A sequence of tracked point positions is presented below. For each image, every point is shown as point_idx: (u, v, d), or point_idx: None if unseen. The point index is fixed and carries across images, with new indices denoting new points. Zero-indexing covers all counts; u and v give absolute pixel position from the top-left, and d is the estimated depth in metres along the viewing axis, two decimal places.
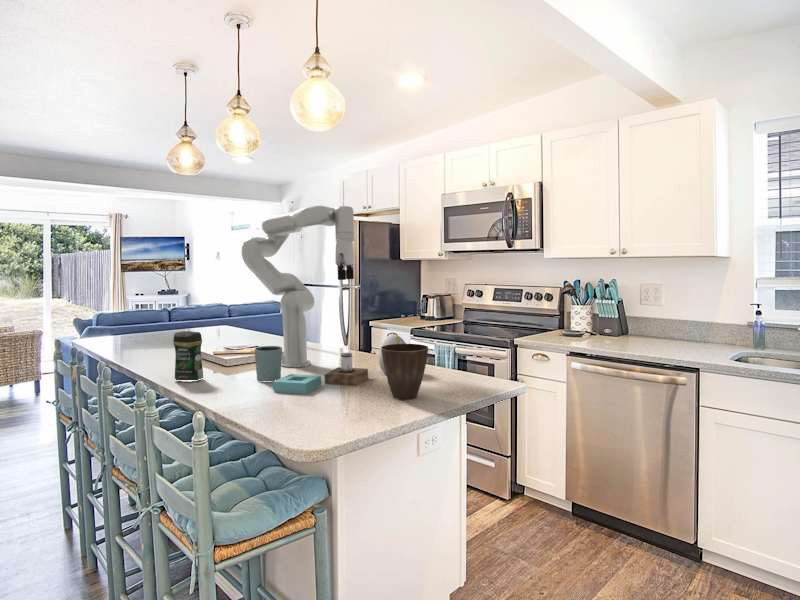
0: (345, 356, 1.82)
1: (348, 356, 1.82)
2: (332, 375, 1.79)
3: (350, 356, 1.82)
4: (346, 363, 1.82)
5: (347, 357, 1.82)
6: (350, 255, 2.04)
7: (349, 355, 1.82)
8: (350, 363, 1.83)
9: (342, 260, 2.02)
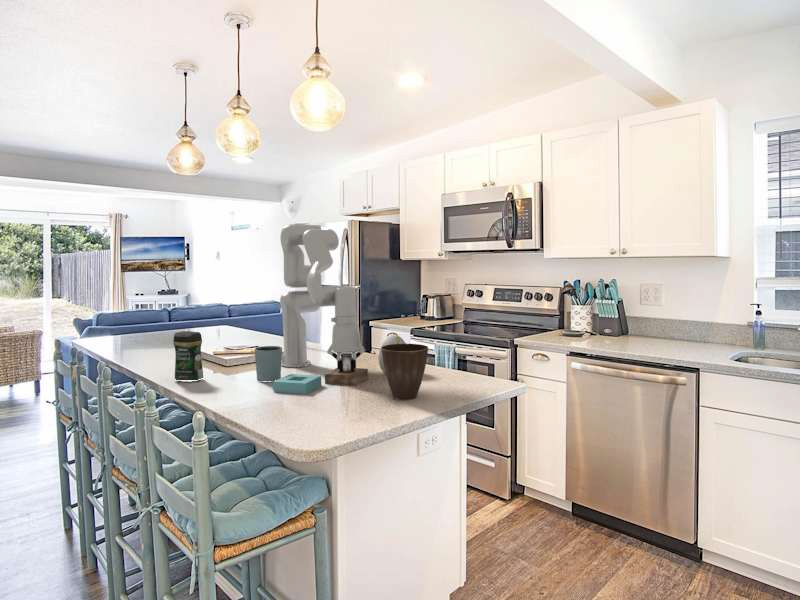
0: (345, 356, 1.82)
1: (348, 356, 1.82)
2: (332, 375, 1.79)
3: (350, 356, 1.82)
4: (346, 363, 1.82)
5: (347, 357, 1.82)
6: None
7: (349, 355, 1.82)
8: (350, 363, 1.83)
9: None
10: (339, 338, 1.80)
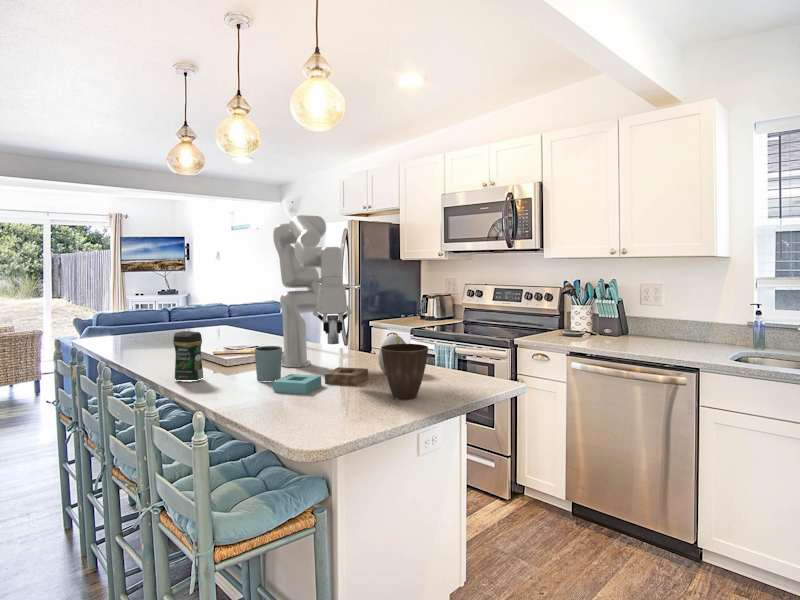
0: (331, 318, 1.78)
1: (334, 318, 1.78)
2: (332, 375, 1.79)
3: (336, 318, 1.79)
4: (332, 325, 1.78)
5: (333, 319, 1.78)
6: None
7: (335, 317, 1.78)
8: (336, 325, 1.79)
9: None
10: (325, 299, 1.76)
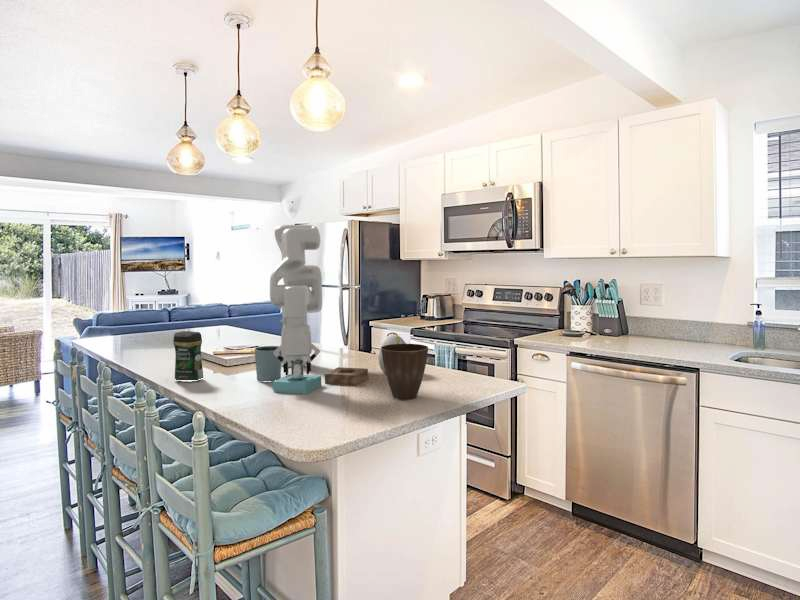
0: (295, 363, 1.71)
1: (298, 363, 1.71)
2: (332, 375, 1.79)
3: (301, 362, 1.72)
4: (296, 370, 1.71)
5: (297, 364, 1.71)
6: None
7: (300, 361, 1.71)
8: (301, 370, 1.72)
9: None
10: (288, 341, 1.69)
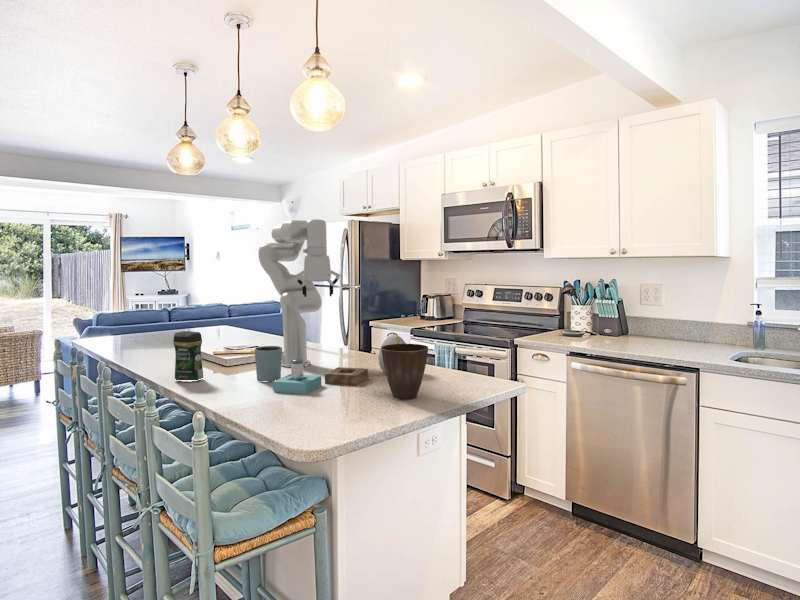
0: (295, 363, 1.71)
1: (298, 363, 1.71)
2: (332, 375, 1.79)
3: (301, 362, 1.71)
4: (296, 370, 1.71)
5: (297, 364, 1.71)
6: None
7: (300, 361, 1.71)
8: (301, 370, 1.72)
9: None
10: (310, 267, 1.91)
